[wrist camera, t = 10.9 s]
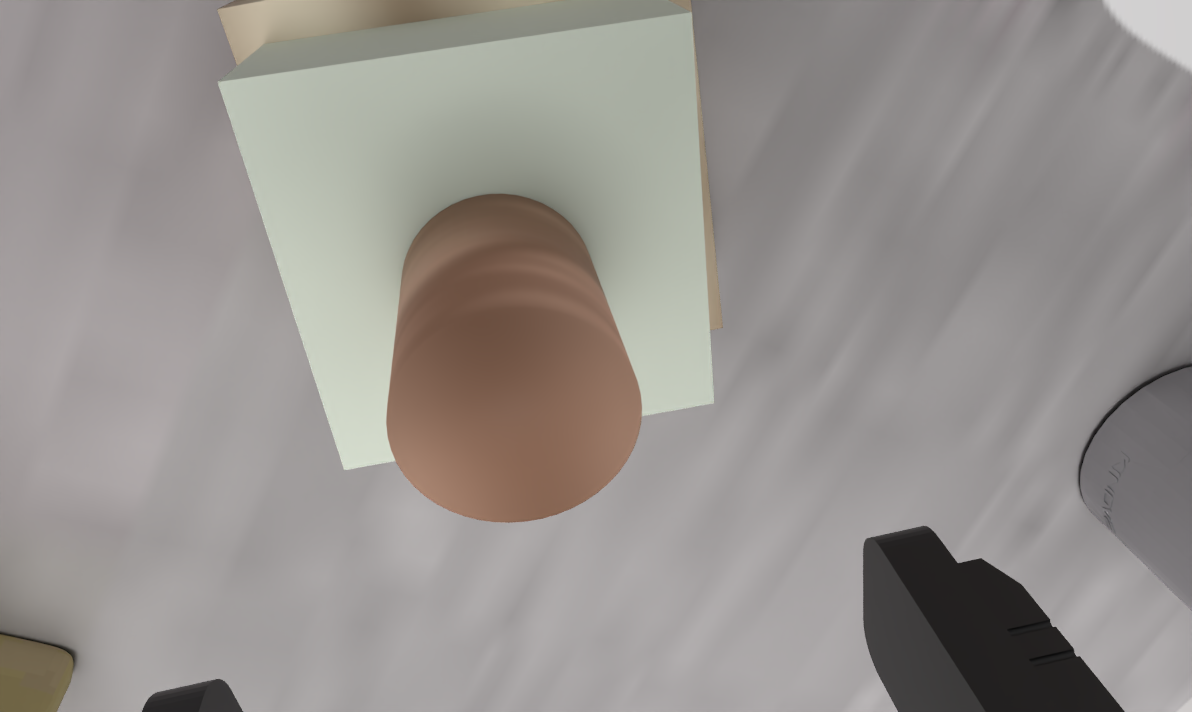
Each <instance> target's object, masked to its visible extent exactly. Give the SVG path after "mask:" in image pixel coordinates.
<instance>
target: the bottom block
mask: <svg viewBox="0 0 1192 712" xmlns="http://www.w3.org/2000/svg"><path fill="white" fill-rule="evenodd" d="M557 1H564V0H235V1H233V2H231V3H229V4H227V5H225V6H223V7H221V8H219V9H217V10H218V13H219V16H220V19H221V22H222V24H223V27H224V30H225V33H226V36H227V38H228V41H229V44H230V47H231V50H232V52H233V55H234V58H235V61H236V63H237V66H238V65H239V64H240V63H242V62H243V61H244V60H245V59H246V58H248V57H249V56H250V55H251V54H252V53H254V52H255V51H256V50H257V49H259V48H260V47H261V46H262V45H263V44H267V43H274V42H281V41H288V40H295V39H301V38H308V37H315V36H322V35H329V34H336V33H343V32H350V31H357V30H364V29H370V28H377V27H384V26H391V25H398V24H405V23H412V22H419V21H426V20H433V19H440V18H446V17H453V16H460V15H467V14H474V13H481V12H488V11H495V10H502V9H509V8H516V7H522V6H529V5H536V4H543V3H550V2H557ZM669 1H671V2H673V3H675V4H677V5H679V6H680V7H682V8H684V9H686V10H688V11H690V12H692V8H691V0H669ZM692 26H693V18H692ZM693 44H694V61H695V78H696V96H697V113H698V131H699V148H700V166H701V183H702V201H703V218H704V236H705V253H706V271H707V288H708V305H709V323H710V330H714V329H719V328H723V325H722V315H721V304H720V294H719V284H718V274H717V263H716V253H715V243H714V233H713V223H712V212H711V202H710V192H709V182H708V171H707V161H706V151H705V141H704V131H703V120H702V110H701V100H700V90H699V79H698V69H697V59H696V49H695V39H694V28H693Z"/></svg>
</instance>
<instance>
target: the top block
mask: <svg viewBox="0 0 1192 712" xmlns="http://www.w3.org/2000/svg"><path fill="white" fill-rule="evenodd" d="M218 85H219V88H220V91H221V94H222V97H223V100H224V103H225V106H226V109H227V112H228V115H229V118H230V121H231V124H232V128H233V131H234V134H235V137H236V140H237V143H238V146H239V149H240V152H241V155H242V158H243V161H244V164H245V167H246V170H247V174H248V177H249V180H250V183H251V186H252V189H253V192H254V195H255V198H256V201H257V204H258V207H259V210H260V213H261V216H262V219H263V223H264V226H265V229H266V232H267V235H268V238H269V241H270V244H271V247H272V250H273V253H274V256H275V259H276V262H277V265H278V268H279V272H280V275H281V278H282V281H283V284H284V287H285V290H286V293H287V296H288V299H289V302H290V305H291V308H292V311H293V314H294V317H295V321H296V324H297V327H298V330H299V333H300V336H301V339H302V342H303V345H304V348H305V351H306V354H307V357H308V360H309V363H310V366H311V370H312V373H313V376H314V379H315V382H316V385H317V388H318V391H319V394H320V397H321V400H322V403H323V406H324V409H325V412H326V416H327V419H328V422H329V425H330V428H331V431H332V434H333V437H334V440H335V443H336V446H337V449H338V452H339V455H340V458H341V461H342V465H343V468H344V470H348V469H354V468H359V467H365V466H370V465H376V464H381V463H387V462H392V461H396V460H395V458H394V456H393V454H392V451H391V448H390V444H389V441H388V436H387V427H386V416H387V403H388V395H389V386H390V377H391V368H392V359H393V350H394V341H395V332H396V323H397V314H398V305H399V297H400V288H401V279H402V271H403V266H404V261H405V258H406V255H407V253H408V250H409V248H410V246H411V244H412V242H413V240H414V238H415V237H416V236H417V234H418V233H419V232H420V230H421V229H422V228H423V227H424V226H425V225H426V224H427V222H428V221H429V220H430V219H432V218H433V217H434V216H435V215H437V214H438V213H439V212H441V211H442V210H444V209H446V208H447V207H449V206H451V205H452V204H455V203H457V202H460V201H462V200H464V199H468V198H471V197H475V196H480V195H487V194H510V195H518V196H522V197H526V198H530V199H533V200H535V201H538V202H541V203H543V204H545V205H546V206H548V207H550V208H552V209H554V210H555V211H556V212H558V213H559V214H561V215H562V216H563V217H564V218H565V219H566V220H567V221H568V222H569V223H571V224H572V226H573V227H574V228H575V229H576V231H577V232H578V233H579V235H580V236H581V238H582V240H583V241H584V243H585V245H586V248H587V250H588V252H589V255H590V257H591V260H592V263H593V265H594V268H595V270H596V273H597V276H598V278H599V281H600V284H601V286H602V289H603V292H604V294H605V297H606V299H607V302H608V305H609V307H610V310H611V313H612V315H613V318H614V320H615V323H616V326H617V328H618V331H619V334H620V336H621V339H622V342H623V344H624V347H625V349H626V352H627V355H628V357H629V360H630V363H631V365H632V368H633V370H634V373H635V376H636V378H637V381H638V385H639V389H640V393H641V402H642V416H646V415H652V414H657V413H663V412H668V411H674V410H679V409H685V408H690V407H696V406H701V405H707V404H712V403H714V393H713V375H712V358H711V340H710V323H709V305H708V288H707V271H706V253H705V236H704V218H703V201H702V183H701V166H700V148H699V131H698V113H697V96H696V78H695V61H694V44H693V26H692V12H690V11H688V10H686V9H684V8H682V7H680V6H679V5H677V4H675V3H673V2H671V1H669V0H564V1H557V2H550V3H543V4H536V5H529V6H522V7H516V8H509V9H502V10H495V11H488V12H481V13H474V14H467V15H460V16H453V17H446V18H440V19H433V20H426V21H419V22H412V23H405V24H398V25H391V26H384V27H377V28H370V29H364V30H357V31H350V32H343V33H336V34H329V35H322V36H315V37H308V38H301V39H295V40H288V41H281V42H274V43H267V44H263V45H262V46H261V47H260V48H259V49H257V50H256V51H255V52H254V53H252V54H251V55H250V56H249V57H248V58H246V59H245V60H244V61H243V62H242V63H240V64H239V65H238V66H237V67H235V68H234V69H233V70H232V71H231V72H229V73H228V74H227V75H226V76H225V77H223V78H222V79H221V80H220V81H218Z"/></svg>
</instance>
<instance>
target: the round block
mask: <svg viewBox="0 0 1192 712" xmlns="http://www.w3.org/2000/svg"><path fill="white" fill-rule="evenodd" d="M641 418H642V402H641V393H640V389H639V385H638V381H637V378H636V376H635V373H634V370H633V368H632V365H631V363H630V360H629V357H628V355H627V352H626V349H625V347H624V344H623V342H622V339H621V336H620V334H619V331H618V328H617V326H616V323H615V320H614V318H613V315H612V313H611V310H610V307H609V305H608V302H607V299H606V297H605V294H604V292H603V289H602V286H601V284H600V281H599V278H598V276H597V273H596V270H595V268H594V265H593V263H592V260H591V257H590V255H589V252H588V250H587V248H586V245H585V243H584V241H583V240H582V238H581V236H580V235H579V233H578V232H577V231H576V229H575V228H574V227H573V226H572V224H571V223H569V222H568V221H567V220H566V219H565V218H564V217H563V216H562V215H561V214H559V213H558V212H556V211H555V210H554V209H552V208H550V207H548V206H546V205H545V204H543V203H541V202H538V201H535V200H533V199H530V198H526V197H522V196H518V195H510V194H487V195H480V196H475V197H471V198H468V199H464V200H462V201H460V202H457V203H455V204H452V205H451V206H449V207H447V208H446V209H444V210H442V211H441V212H439V213H438V214H437V215H435V216H434V217H433V218H432V219H430V220H429V221H428V222H427V224H426V225H425V226H424V227H423V228H422V229H421V230H420V232H419V233H418V234H417V236H416V237H415V238H414V240H413V242H412V244H411V246H410V248H409V250H408V253H407V255H406V258H405V261H404V266H403V271H402V279H401V288H400V297H399V305H398V314H397V323H396V332H395V341H394V350H393V359H392V368H391V377H390V386H389V395H388V403H387V416H386V427H387V436H388V441H389V444H390V448H391V451H392V454H393V456H394V458H395V460H396V462H397V464H398V466H399V468H400V469H401V471H402V472H403V474H404V475H405V477H406V478H407V479H408V480H409V481H410V482H411V484H412V485H413V486H414V487H415V488H416V489H417V490H419V491H420V492H421V493H422V494H423V495H424V496H426V497H427V498H429V499H430V500H432V501H433V502H435V503H436V504H438V505H440V506H442V507H444V508H446V509H448V510H449V511H452V512H454V513H457V514H460V515H463V516H466V517H470V518H474V519H478V520H484V521H491V522H524V521H531V520H537V519H542V518H546V517H549V516H553V515H556V514H559V513H561V512H564V511H566V510H569V509H571V508H573V507H575V506H577V505H579V504H581V503H583V502H585V501H586V500H588V499H589V498H590V497H592V496H593V495H595V494H596V493H598V492H599V491H600V490H601V489H602V488H604V487H605V486H606V485H607V484H608V483H609V482H610V481H611V480H612V479H613V478H614V477H615V476H616V475H617V474H618V472H619V471H620V470H621V468H622V467H623V465H624V464H625V463H626V461H627V460H628V458H629V456H630V454H631V452H632V450H633V448H634V446H635V443H636V440H637V438H638V435H639V430H640V425H641Z"/></svg>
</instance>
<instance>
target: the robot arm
mask: <svg viewBox="0 0 1192 712" xmlns="http://www.w3.org/2000/svg"><path fill="white" fill-rule="evenodd" d="M1080 489H1081V492H1082V496H1083V500H1084V502H1085V504H1086V505H1087V507H1088V508H1089V510H1090V511H1091V513H1092V514H1093V515H1094V516H1095V517H1096V518H1097V519H1099V520H1100V521H1101V522H1102V523H1103V524H1104V525H1105V526H1106V527H1107V528H1108V529H1109V530H1110V531H1111V532H1112V533H1113V534H1114V535H1115V536H1116V537H1117V538H1118V539H1119V540H1120V541H1121V542H1122V543H1123V544H1124V545H1125V546H1126V547H1127V548H1128V549H1129V550H1130V551H1131V552H1132V553H1133V554H1134V555H1135V556H1136V557H1137V558H1139V559H1140V560H1141V561H1142V562H1143V563H1144V564H1145V565H1146V566H1147V567H1148V569H1149V570H1150V571H1151V572H1152V573H1153V574H1154V575H1155V576H1157V577H1158V578H1159V579H1160V580H1161V581H1162V582H1163V583H1164V584H1165V585H1166V586H1167V587H1168V588H1169V589H1170V590H1171V591H1172V592H1173V593H1174V594H1175V595H1176V596H1177V597H1178V598H1179V599H1180V600H1181V601H1182V602H1183V603H1184V604H1185V605H1186V606H1187V607H1188V608H1189V609H1190V610H1191V611H1192V367H1187V368H1183V369H1181V370H1178V371H1176V372H1173V373H1170V374H1168V375H1165V376H1163V377H1161V378H1159V379H1157V380H1156V381H1154V382H1152V383H1150V384H1149V385H1147V386H1145V387H1143V388H1142V389H1140V390H1139V391H1138V392H1137V393H1135V394H1134V395H1133V396H1131V397H1130V398H1129V399H1127V400H1126V401H1125V402H1123V403H1122V404H1121V405H1120V406H1119V408H1118V409H1117V410H1116V411H1115V412H1114V413H1113V414H1112V415H1111V416H1110V417H1109V418H1108V419H1107V420H1106V421H1105V423H1104V424H1103V425H1102V427H1101V428H1100V429H1099V431H1098V432H1097V434H1096V435H1095V436H1094V438H1093V440H1092V442H1091V444H1090V446H1089V448H1088V450H1087V452H1086V454H1085V458H1084V461H1083V465H1082V468H1081V476H1080ZM863 620H864V631H865V637H866V641H867V645H868V649H869V652H870V655H871V658H872V661H873V663H874V666H875V668H876V671H877V673H878V675H879V677H880V679H881V680H882V682H883V684H884V686H885V688H886V690H887V692H888V693H889V695H890V697H891V699H892V701H893V703H894V705H895V707H896V708H897V710H898V712H1124V710H1123V709H1122V708H1121V707H1120V705H1119V704H1118V703H1117V702H1116V700H1115V699H1114V698H1113V697H1112V695H1111V694H1110V693H1109V692H1108V691H1107V689H1106V688H1105V687H1104V686H1103V684H1102V683H1101V682H1100V681H1099V679H1098V678H1097V677H1096V676H1095V675H1094V673H1093V672H1092V671H1091V670H1090V668H1089V667H1088V666H1087V665H1086V663H1085V662H1084V661H1083V660H1082V658H1081V657H1080V656H1079V657H1077V656H1076V655H1075V653H1074V649H1073V647H1072V646H1071V645H1070V644H1069V642H1068V641H1067V640H1066V639H1065V638H1064V636H1063V635H1062V634H1061V633H1060V631H1059V630H1058V629H1057V628H1056V627H1052V625H1051V623H1050V619H1049V618H1048V617H1047V615H1046V614H1045V613H1044V612H1043V610H1042V609H1041V608H1040V607H1039V605H1038V604H1037V603H1036V602H1035V601H1034V599H1033V598H1032V597H1031V596H1030V594H1029V593H1028V592H1027V591H1026V589H1025V588H1024V587H1023V586H1022V585H1021V584H1020V583H1018V582H1017V581H1015V580H1014V579H1012V578H1011V577H1009V576H1008V575H1006V574H1004V573H1003V572H1001V571H1000V570H998V569H997V568H995V567H994V566H992V565H991V564H989V563H988V562H986V561H984V560H983V559H981V558H980V559H976V560H971V561H967V562H962V563H957V562H956V560H955V559H954V558H953V556H952V555H951V554H950V552H949V551H948V550H947V548H946V547H945V546H944V544H943V543H942V542H941V540H940V539H939V538H938V536H937V535H936V534H935V533H934V531H932V530H931V529H930V528H929V527H927V526H921V527H917V528H912V529H907V530H903V531H898V532H894V533H889V534H885V535H880V536H876V537H871V538H867V539H866V540H865V543H864V548H863ZM142 712H243V711H242V709H241V707H240V705H239V704H238V702H237V700H236V698H235V696H234V694H233V693H232V691H231V689H230V687H229V686H228V685H227V683H226V682H225V681H223V680H221V679H216V680H211V681H207V682H202V683H197V684H193V685H188V686H184V687H179V688H175V689H170V690H166V691H161V692H157V693H155V694H153V695H152V696H151V697H150V698H149V699H148V700H147V702H146V704H145V706H144V708H143V710H142Z"/></svg>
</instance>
